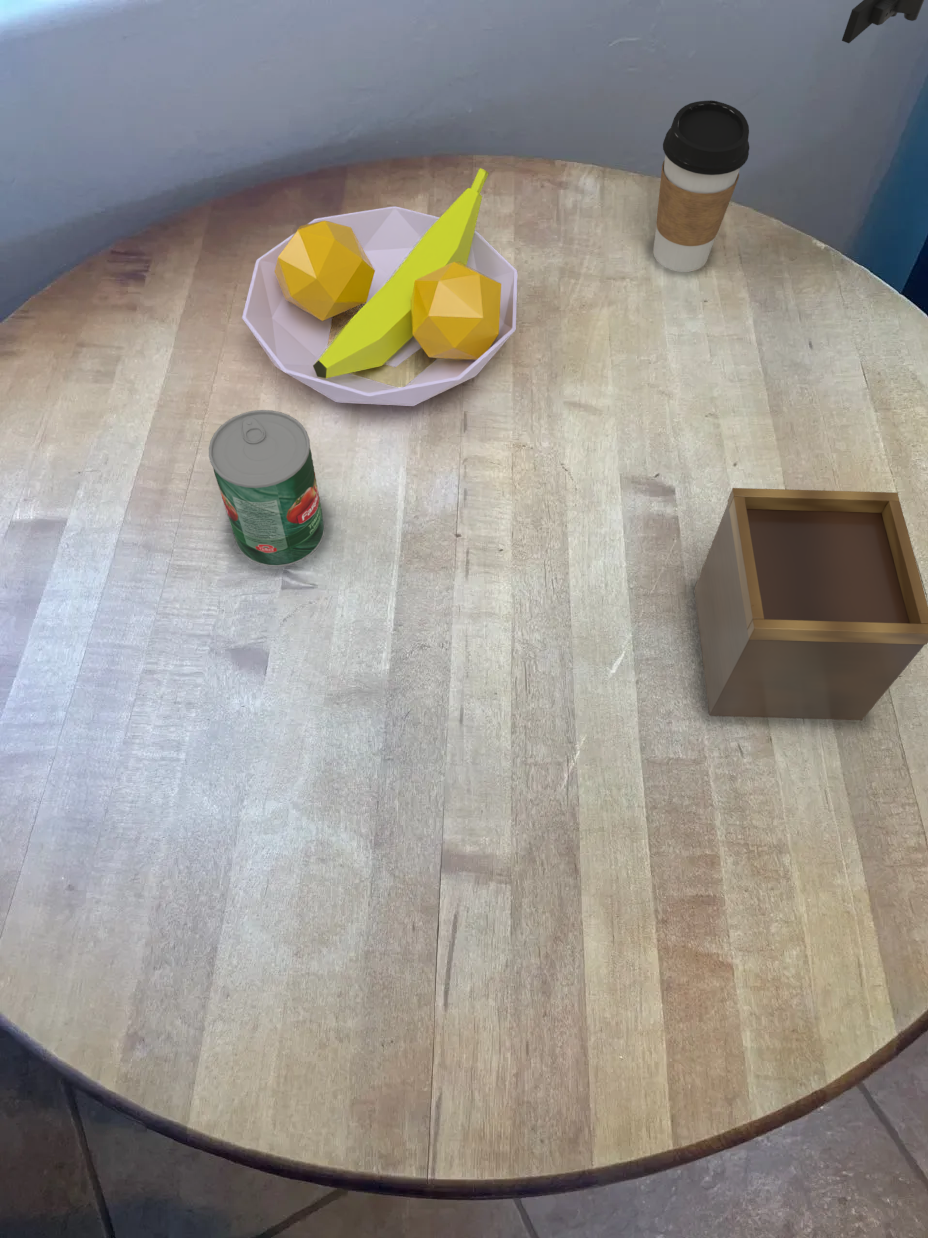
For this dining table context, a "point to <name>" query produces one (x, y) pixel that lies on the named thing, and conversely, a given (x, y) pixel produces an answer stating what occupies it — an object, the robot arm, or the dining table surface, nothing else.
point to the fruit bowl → (384, 300)
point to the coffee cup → (697, 181)
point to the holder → (808, 604)
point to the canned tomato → (268, 486)
